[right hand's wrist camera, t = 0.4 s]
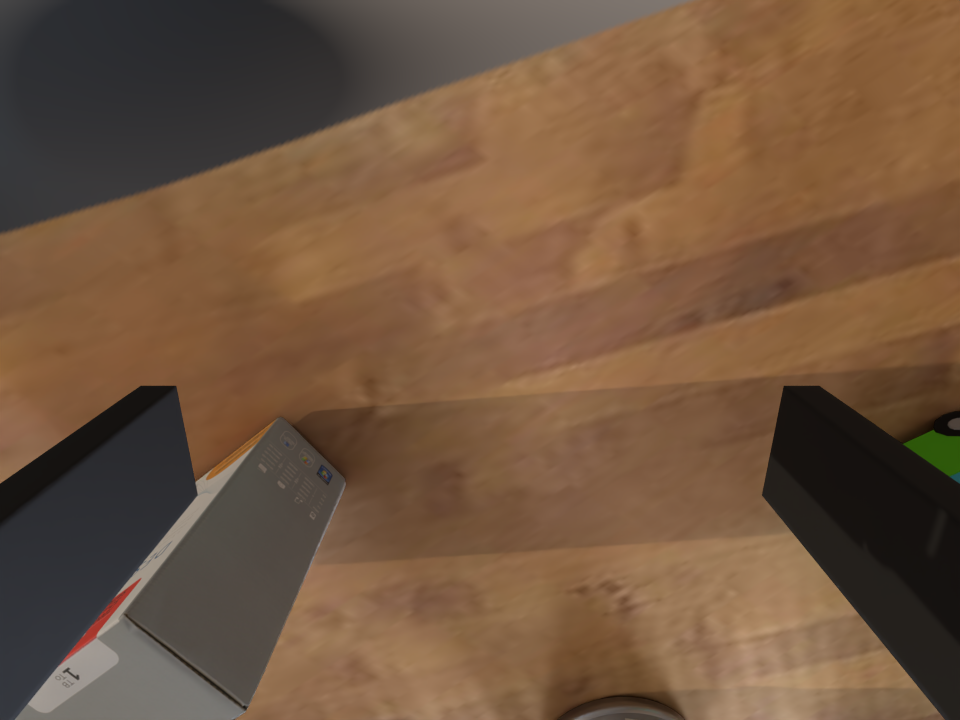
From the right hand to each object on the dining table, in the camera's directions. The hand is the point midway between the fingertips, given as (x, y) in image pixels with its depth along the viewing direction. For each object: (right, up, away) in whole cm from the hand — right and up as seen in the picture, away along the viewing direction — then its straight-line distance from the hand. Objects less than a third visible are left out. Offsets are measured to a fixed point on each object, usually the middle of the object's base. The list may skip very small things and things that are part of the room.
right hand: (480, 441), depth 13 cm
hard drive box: (-19, -9, +33) cm, 39 cm away
